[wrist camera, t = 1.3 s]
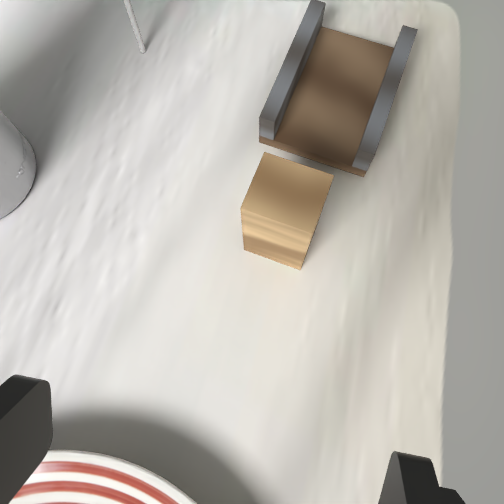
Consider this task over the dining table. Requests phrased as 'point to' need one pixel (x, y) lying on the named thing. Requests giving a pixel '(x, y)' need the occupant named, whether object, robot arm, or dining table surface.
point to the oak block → (283, 209)
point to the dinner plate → (95, 482)
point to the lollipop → (134, 25)
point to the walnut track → (333, 94)
